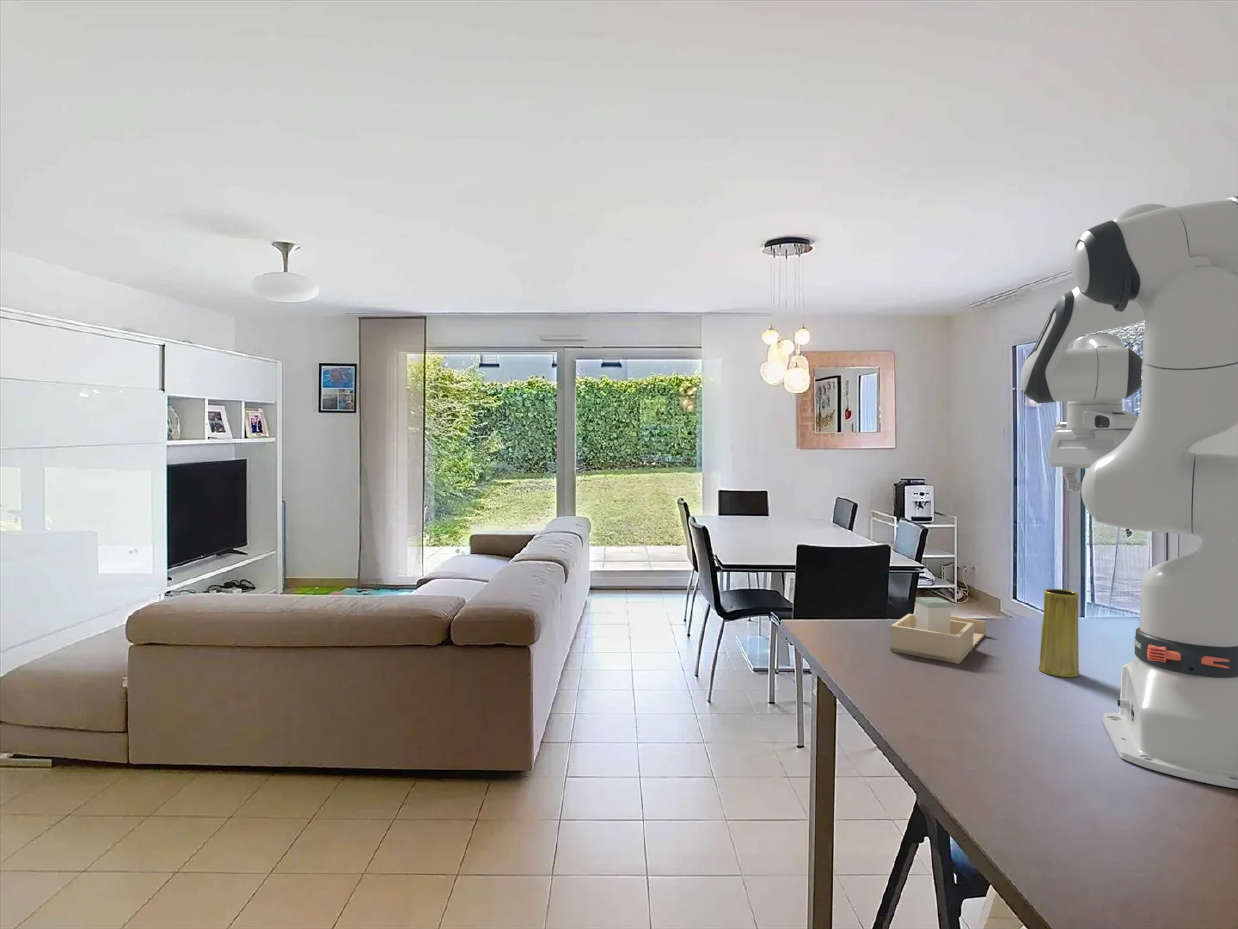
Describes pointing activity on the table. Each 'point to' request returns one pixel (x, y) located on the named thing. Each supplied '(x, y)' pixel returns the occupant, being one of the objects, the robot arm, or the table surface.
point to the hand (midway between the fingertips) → (1091, 492)
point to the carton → (933, 614)
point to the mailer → (936, 639)
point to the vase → (1060, 634)
